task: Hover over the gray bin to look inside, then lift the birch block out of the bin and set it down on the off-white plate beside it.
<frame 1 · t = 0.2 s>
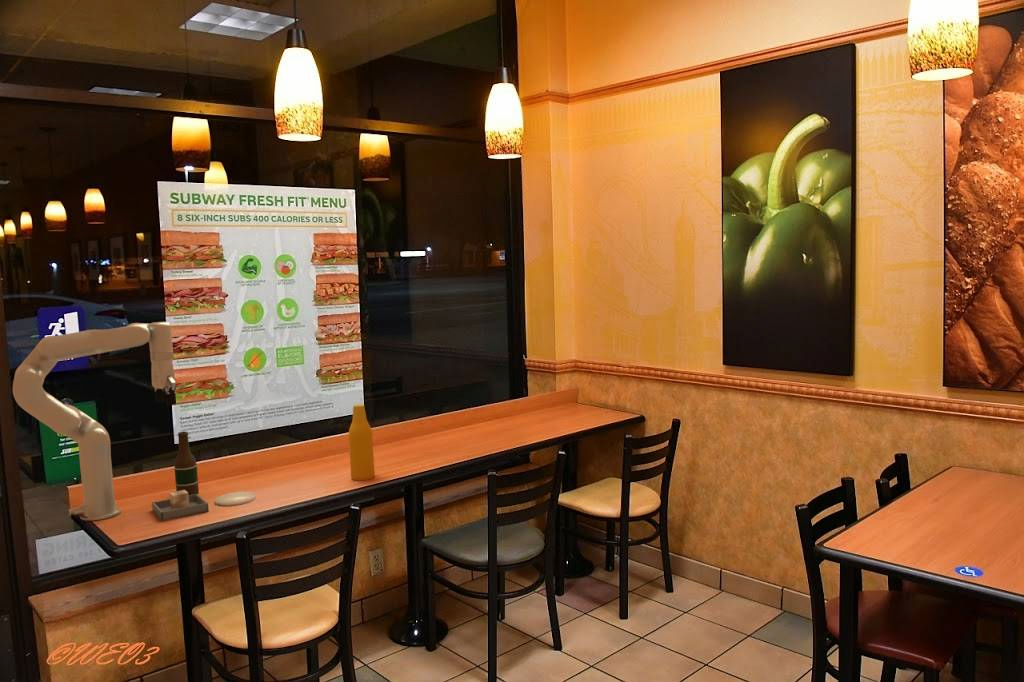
hand: (166, 403, 279), 36 cm above the table, tool pointing down, fingers open, 9 cm apart
beer bottle 2: (187, 495, 291), on the table
off-white plate: (235, 499, 281), on the table
beer bottle: (363, 478, 305), on the table
birch block: (180, 509, 270), point 1 cm above the table, touching gray bin
gray bin: (180, 511, 271), on the table
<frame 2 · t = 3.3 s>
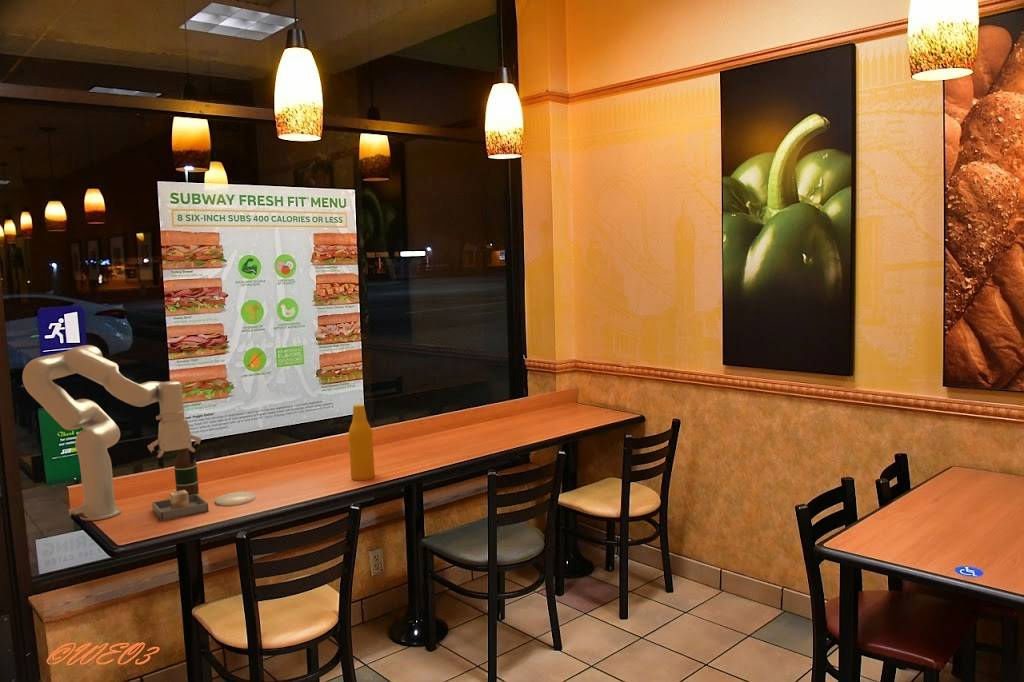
hand: (176, 465, 269), 16 cm above the table, tool pointing down, fingers open, 9 cm apart
nothing on the table moved.
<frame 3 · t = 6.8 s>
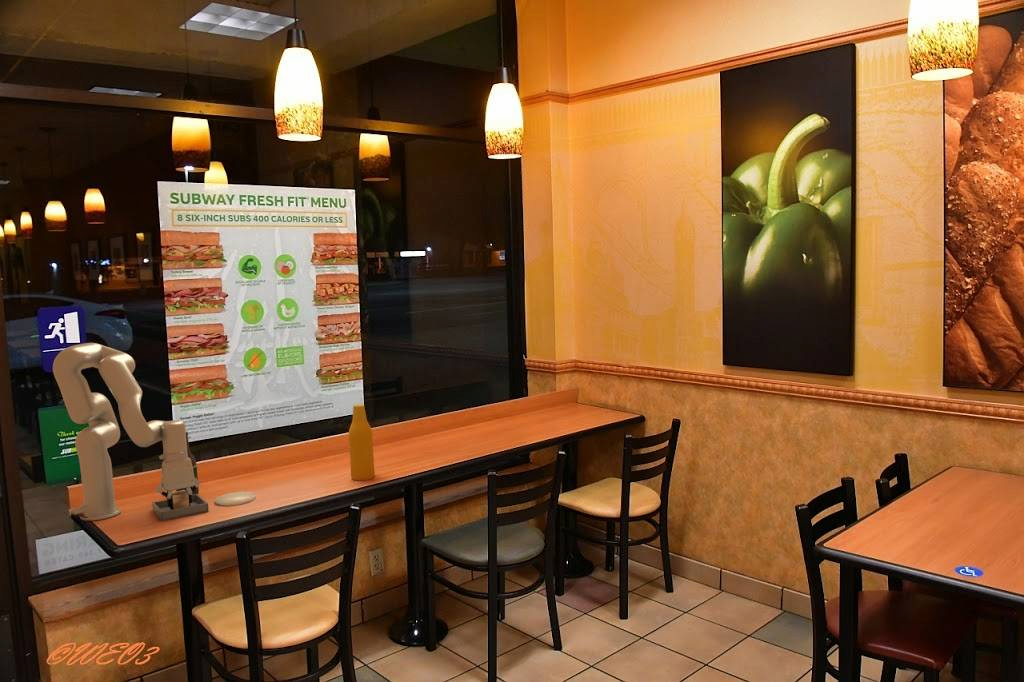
hand: (180, 506, 270), 2 cm above the table, tool pointing down, fingers closed on birch block, 5 cm apart
birch block: (180, 509, 270), point 1 cm above the table, touching gray bin, gripper
everything else where it was.
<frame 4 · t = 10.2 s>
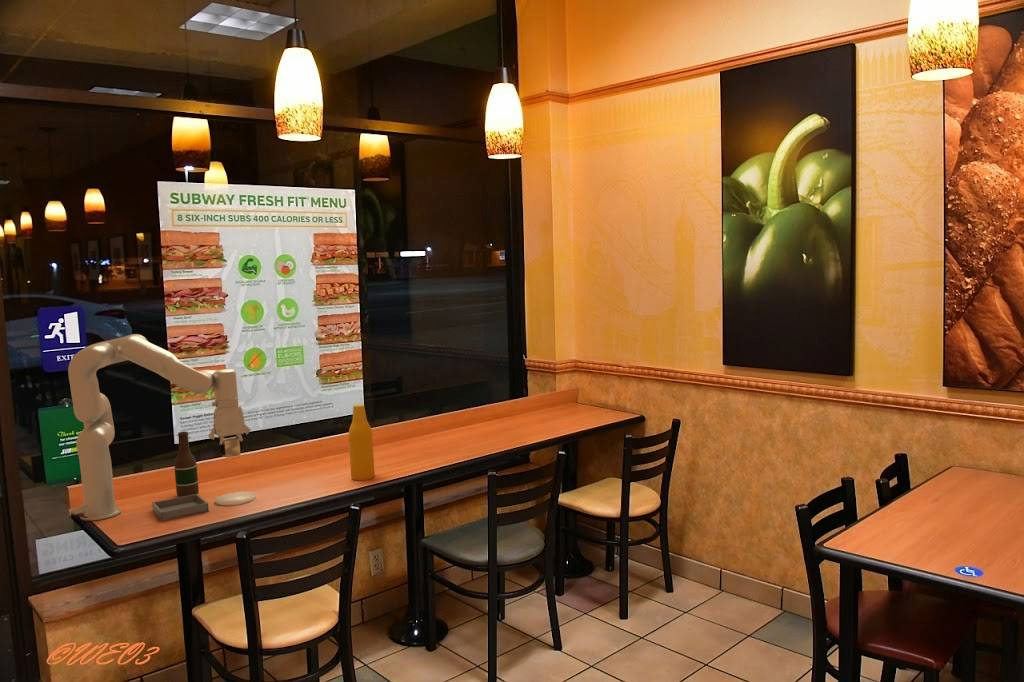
hand: (231, 452, 280), 18 cm above the table, tool pointing down, fingers closed on birch block, 5 cm apart
birch block: (231, 455, 280), point 17 cm above the table, touching gripper
everything else where it was.
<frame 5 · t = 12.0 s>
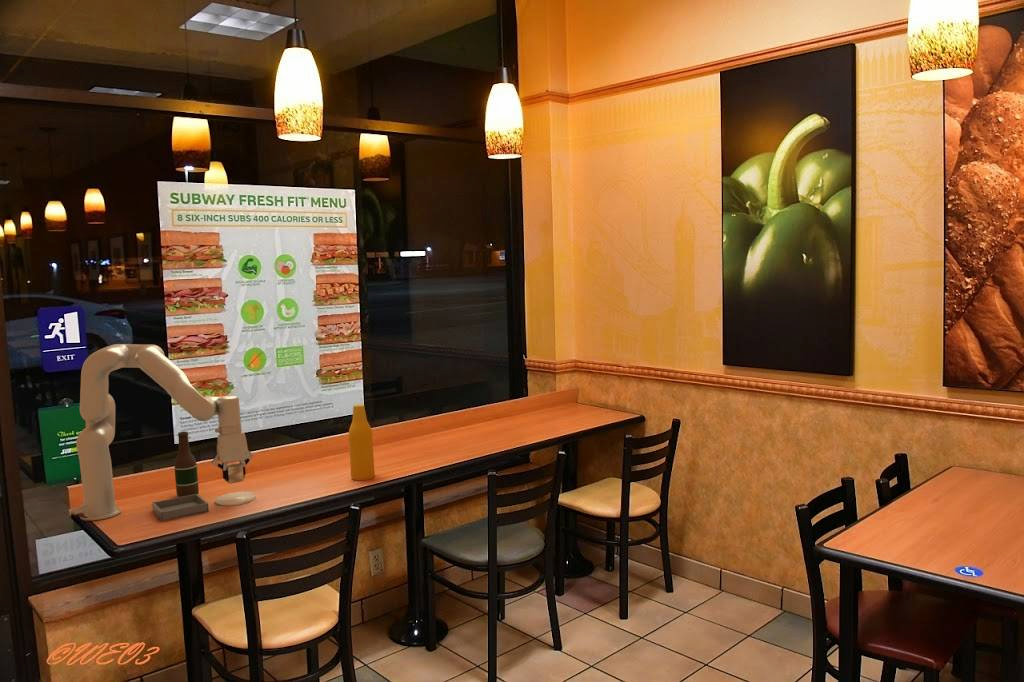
hand: (234, 478, 281), 8 cm above the table, tool pointing down, fingers closed on birch block, 5 cm apart
birch block: (234, 481, 281), point 7 cm above the table, touching gripper
everything else where it was.
when the fingers open (3 cm above the table, at t = 13.7 s): birch block drops 1 cm, resting on off-white plate.
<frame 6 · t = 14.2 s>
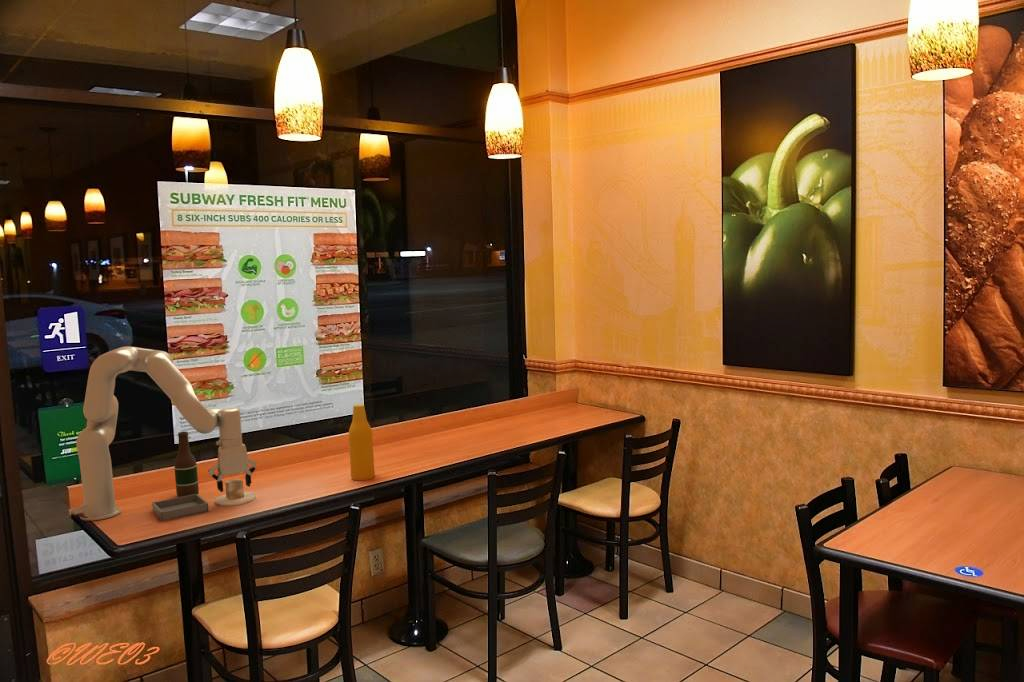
hand: (234, 488, 281), 4 cm above the table, tool pointing down, fingers open, 9 cm apart
birch block: (235, 497, 281), point 1 cm above the table, touching off-white plate
everything else where it was.
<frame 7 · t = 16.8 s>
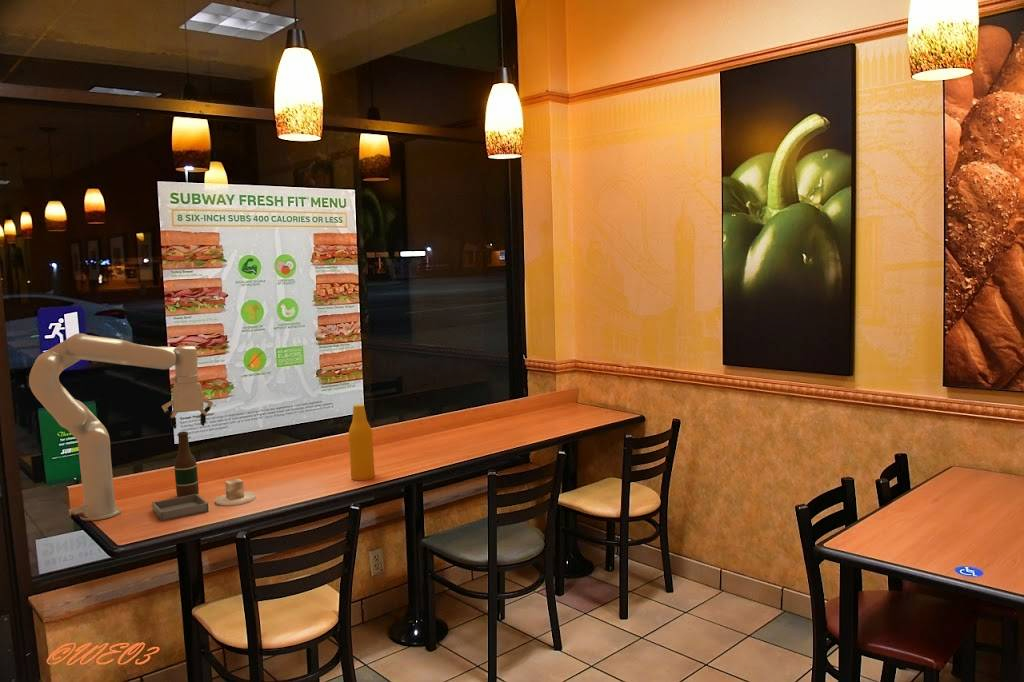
hand: (188, 426, 282), 27 cm above the table, tool pointing down, fingers open, 9 cm apart
nothing on the table moved.
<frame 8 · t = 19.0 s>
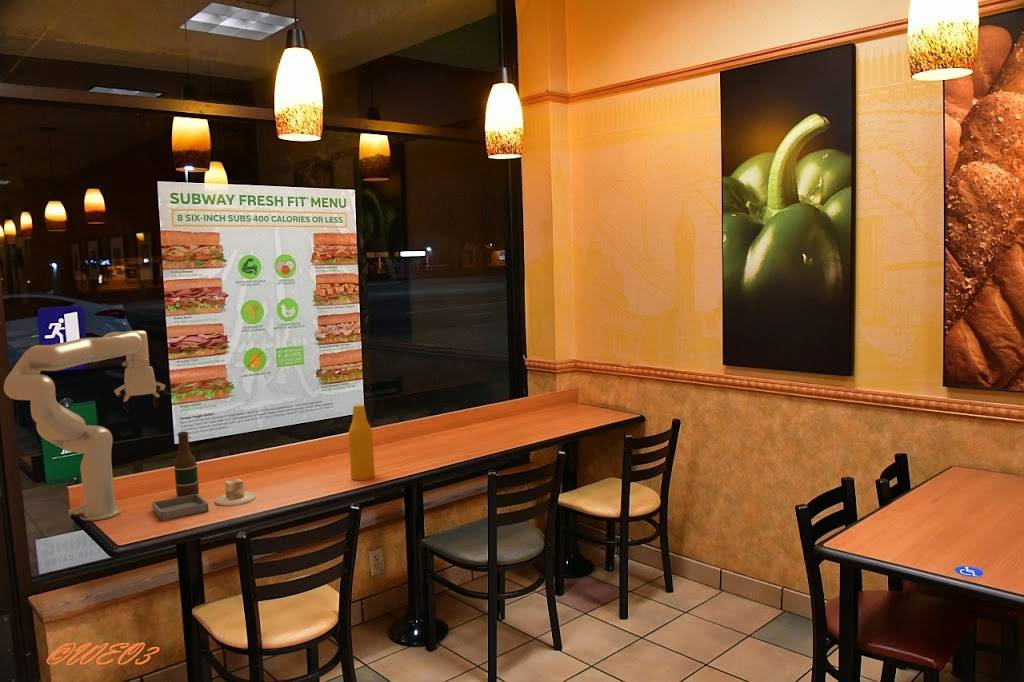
hand: (142, 409, 286), 33 cm above the table, tool pointing down, fingers open, 9 cm apart
nothing on the table moved.
at the end: birch block inside the target area on the off-white plate (0.1 cm from its centre), point 1.0 cm above the off-white plate's base; birch block tilted 0°; the gripper is holding nothing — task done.
